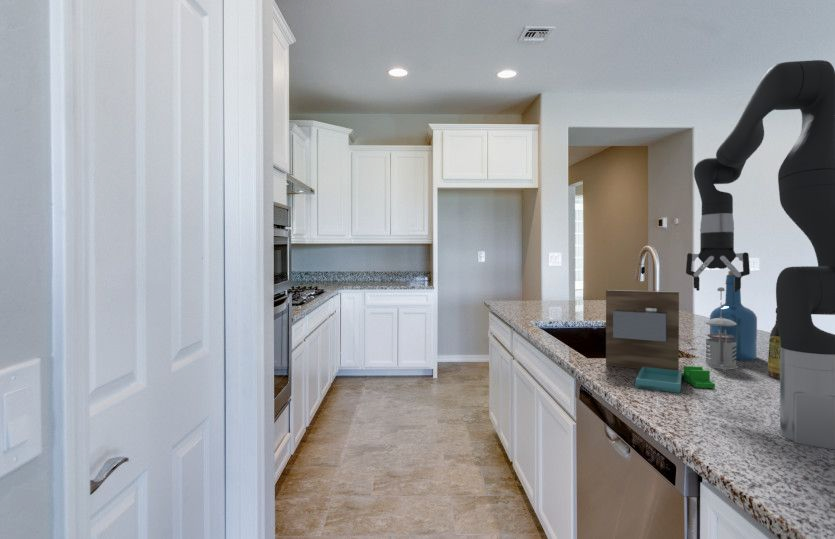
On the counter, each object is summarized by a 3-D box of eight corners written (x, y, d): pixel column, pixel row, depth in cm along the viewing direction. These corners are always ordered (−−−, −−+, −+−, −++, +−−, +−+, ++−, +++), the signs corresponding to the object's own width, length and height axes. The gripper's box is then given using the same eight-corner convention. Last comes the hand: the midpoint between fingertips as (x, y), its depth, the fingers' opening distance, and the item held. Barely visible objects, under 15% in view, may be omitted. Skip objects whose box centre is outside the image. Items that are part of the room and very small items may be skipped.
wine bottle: (762, 364, 140) (763, 271, 140) (713, 360, 146) (713, 271, 145) (751, 356, 153) (751, 270, 152) (706, 353, 158) (706, 270, 158)
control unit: (665, 341, 126) (665, 309, 126) (613, 337, 133) (613, 307, 133) (666, 338, 131) (667, 307, 131) (616, 334, 138) (616, 305, 138)
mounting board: (678, 373, 129) (678, 292, 129) (605, 365, 140) (606, 290, 140) (678, 371, 131) (678, 291, 131) (607, 363, 142) (607, 290, 141)
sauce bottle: (763, 376, 125) (763, 307, 125) (775, 374, 128) (775, 306, 127) (790, 382, 119) (790, 309, 119) (802, 379, 122) (802, 308, 122)
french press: (738, 365, 139) (738, 286, 139) (742, 373, 129) (743, 288, 129) (701, 361, 144) (701, 286, 144) (703, 369, 134) (703, 287, 134)
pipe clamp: (715, 373, 113) (695, 373, 114) (715, 388, 113) (695, 387, 114) (696, 364, 124) (679, 363, 125) (697, 377, 124) (679, 376, 125)
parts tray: (680, 393, 109) (680, 384, 109) (635, 387, 115) (635, 378, 115) (681, 378, 123) (681, 371, 123) (642, 374, 128) (642, 366, 128)
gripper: (685, 231, 120) (685, 291, 120) (751, 229, 112) (750, 292, 112) (686, 233, 126) (686, 289, 126) (748, 231, 118) (747, 291, 118)
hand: (716, 291), depth 119 cm, fingers open, 8 cm apart
